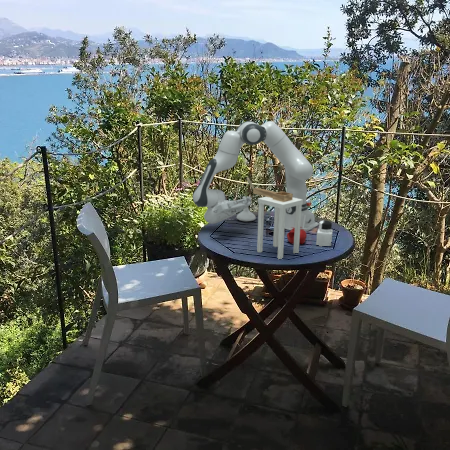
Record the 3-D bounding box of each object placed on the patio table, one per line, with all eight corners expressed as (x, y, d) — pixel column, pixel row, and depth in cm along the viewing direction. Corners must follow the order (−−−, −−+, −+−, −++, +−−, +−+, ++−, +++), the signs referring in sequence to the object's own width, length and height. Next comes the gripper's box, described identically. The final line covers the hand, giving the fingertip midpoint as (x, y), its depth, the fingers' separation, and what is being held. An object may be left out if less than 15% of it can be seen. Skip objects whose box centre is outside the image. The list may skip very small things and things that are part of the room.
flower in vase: (254, 223, 260) (256, 180, 252) (235, 222, 261) (236, 179, 254) (256, 217, 272) (258, 176, 265) (238, 216, 274) (238, 175, 266)
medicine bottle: (331, 242, 229) (333, 220, 225) (330, 247, 222) (332, 224, 219) (317, 241, 231) (318, 219, 227) (316, 246, 224) (317, 222, 221)
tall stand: (275, 245, 225) (277, 194, 217) (299, 253, 214) (303, 199, 207) (256, 251, 216) (258, 198, 208) (280, 260, 205) (283, 204, 198)
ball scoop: (259, 192, 220) (259, 186, 220) (292, 199, 206) (292, 193, 206) (250, 194, 216) (250, 188, 215) (283, 202, 202) (283, 195, 201)
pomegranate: (304, 239, 234) (305, 222, 231) (307, 246, 224) (308, 228, 221) (285, 239, 234) (286, 222, 231) (287, 245, 224) (288, 227, 222)
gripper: (209, 206, 229) (225, 197, 219) (238, 200, 243) (254, 191, 232) (213, 218, 228) (230, 210, 218) (242, 211, 242) (259, 203, 232)
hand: (243, 200), depth 225 cm, fingers open, 8 cm apart
